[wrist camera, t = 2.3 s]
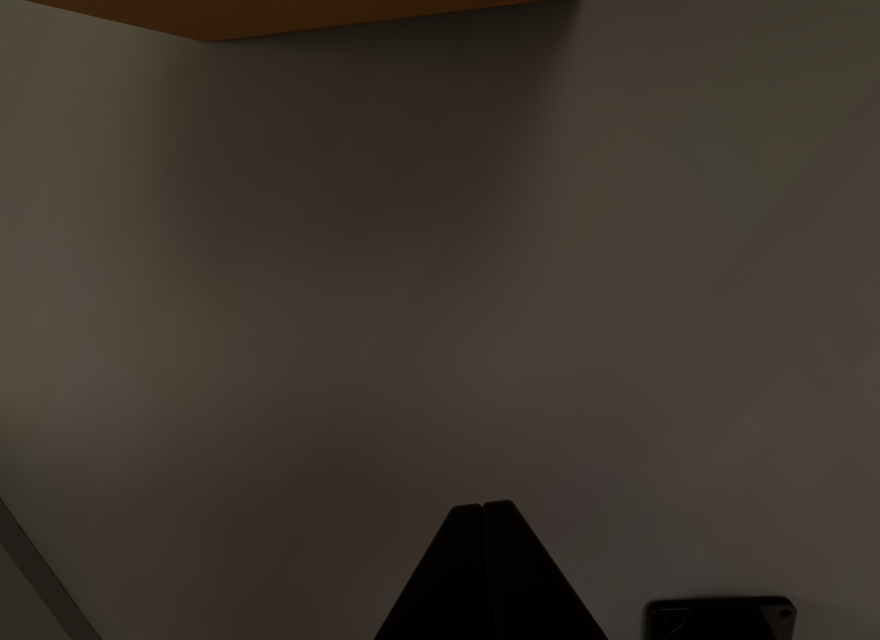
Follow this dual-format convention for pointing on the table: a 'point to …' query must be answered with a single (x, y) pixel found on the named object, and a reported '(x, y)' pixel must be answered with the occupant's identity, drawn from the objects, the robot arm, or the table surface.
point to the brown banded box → (259, 14)
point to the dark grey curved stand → (33, 593)
